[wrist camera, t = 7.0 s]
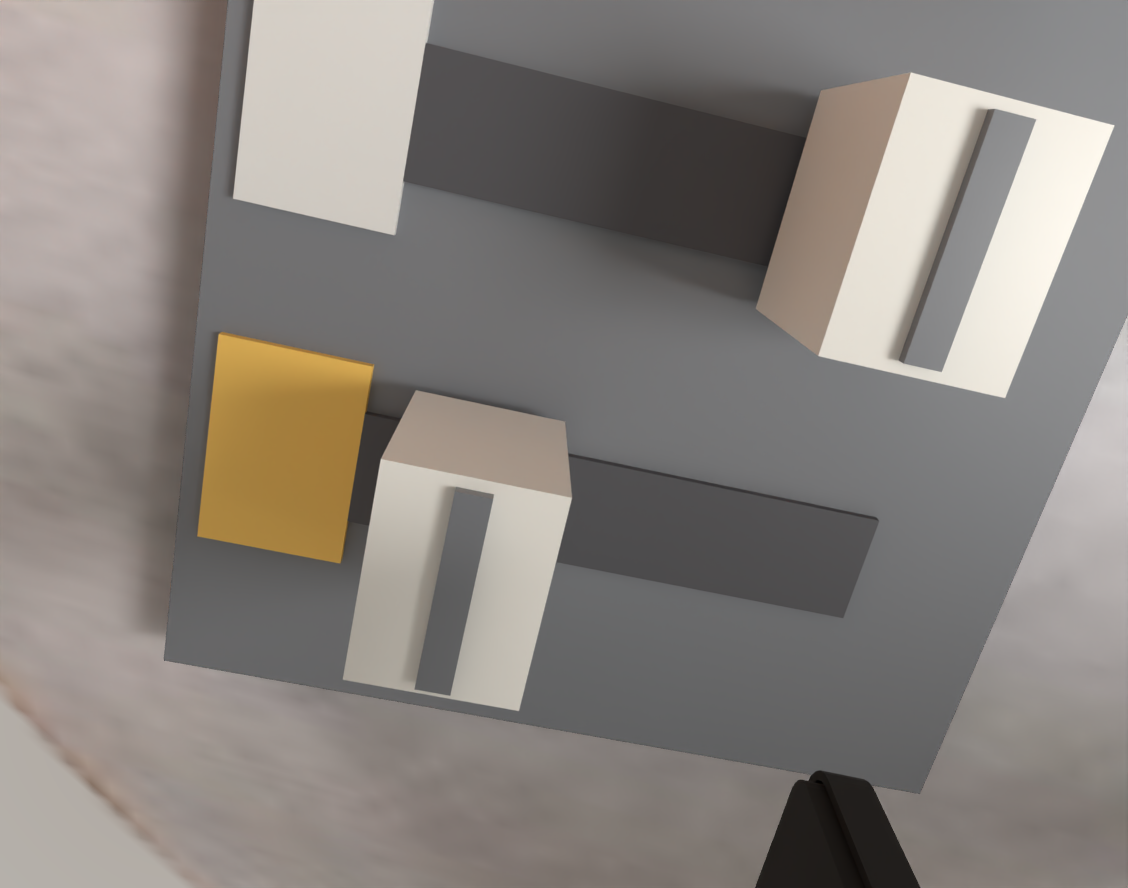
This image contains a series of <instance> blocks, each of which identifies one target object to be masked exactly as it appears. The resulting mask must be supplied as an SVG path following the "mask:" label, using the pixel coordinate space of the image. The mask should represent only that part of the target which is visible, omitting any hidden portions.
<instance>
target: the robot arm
mask: <svg viewBox="0 0 1128 888" xmlns="http://www.w3.org/2000/svg"><path fill="white" fill-rule="evenodd" d="M755 888H920V886H919V884H918V882H917V880H916V878H915V876H914V873H913V871H912V869H911V867H910V865H909V863H908V861H907V859H906V857H905V854H904V852H903V850H902V848H901V846H900V844H899V842H898V840H897V837H896V835H895V833H894V831H893V829H892V827H891V825H890V823H889V821H888V818H887V816H886V814H885V812H884V810H883V808H882V806H881V804H880V802H879V799H878V797H877V795H876V793H875V791H874V789H873V787H872V786H871V784H870V783H869V782H868V781H866V780H865V779H861V778H856V777H851V776H846V775H841V774H836V773H831V772H826V771H822V770H819V771H815V772H814V773H813V774H812V775H811V777H810V779H809V781H805V780H798V781H797V782H796V783H795V784H794V786H793V788H792V790H791V793H790V795H789V798H788V801H787V804H786V806H785V809H784V812H783V814H782V817H781V820H780V822H779V825H778V828H777V830H776V833H775V836H774V838H773V841H772V844H771V846H770V849H769V852H768V854H767V857H766V860H765V862H764V865H763V868H762V870H761V873H760V876H759V879H758V881H757V884H756V887H755Z"/></svg>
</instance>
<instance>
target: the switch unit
mask: <svg viewBox="0 0 1128 888" xmlns="http://www.w3.org/2000/svg"><path fill="white" fill-rule="evenodd" d="M906 73H915V74H919V75H923V76H927V77H930V78H934V79H938V80H942V81H946V82H950V83H953V84H957V85H961V86H965V87H969V88H973V89H976V90H980V91H984V92H988V93H992V94H996V95H999V96H1003V97H1007V98H1011V99H1015V100H1019V101H1023V102H1026V103H1030V104H1034V105H1038V106H1042V107H1046V108H1049V109H1053V110H1057V111H1061V112H1065V113H1069V114H1072V115H1076V116H1080V117H1084V118H1088V119H1092V120H1095V121H1099V122H1103V123H1107V124H1111V125H1115V126H1114V128H1113V131H1112V133H1111V136H1110V138H1109V141H1108V143H1107V146H1106V148H1105V151H1104V153H1103V155H1102V158H1101V160H1100V163H1099V165H1098V168H1097V170H1096V173H1095V175H1094V178H1093V180H1092V183H1091V185H1090V188H1089V190H1088V193H1087V195H1086V198H1085V200H1084V203H1083V205H1082V208H1081V210H1080V213H1079V215H1078V218H1077V220H1076V223H1075V225H1074V228H1073V230H1072V233H1071V235H1070V238H1069V240H1068V243H1067V245H1066V248H1065V250H1064V253H1063V255H1062V258H1061V260H1060V263H1059V265H1058V268H1057V270H1056V272H1055V275H1054V277H1053V280H1052V282H1051V285H1050V287H1049V290H1048V292H1047V295H1046V297H1045V300H1044V302H1043V305H1042V307H1041V310H1040V312H1039V315H1038V317H1037V320H1036V322H1035V325H1034V327H1033V330H1032V332H1031V335H1030V337H1029V340H1028V342H1027V345H1026V347H1025V350H1024V352H1023V355H1022V357H1021V360H1020V362H1019V365H1018V367H1017V370H1016V372H1015V375H1014V377H1013V380H1012V382H1011V385H1010V387H1009V389H1008V392H1007V394H1006V397H1005V398H1002V397H998V396H993V395H989V394H984V393H980V392H975V391H971V390H967V389H962V388H958V387H953V386H949V385H944V384H940V383H935V382H931V381H927V380H922V379H918V378H913V377H909V376H904V375H900V374H895V373H891V372H887V371H882V370H878V369H873V368H869V367H864V366H860V365H855V364H851V363H846V362H842V361H838V360H833V359H829V358H824V357H820V356H817V355H816V354H815V353H813V352H812V351H811V350H809V349H808V348H807V347H805V346H804V345H803V344H801V343H800V342H799V341H798V340H796V339H795V338H794V337H792V336H791V335H790V334H788V333H787V332H786V331H784V330H783V329H782V328H780V327H779V326H778V325H776V324H775V323H774V322H772V321H771V320H770V319H768V318H767V317H766V316H764V315H763V314H762V313H760V312H759V311H758V310H756V306H757V303H758V299H759V296H760V293H761V289H762V286H763V283H764V279H765V276H766V273H767V269H768V266H769V263H770V259H771V256H772V253H773V249H774V246H775V243H776V239H777V236H778V233H779V229H780V226H781V222H782V219H783V216H784V212H785V209H786V206H787V202H788V199H789V196H790V192H791V189H792V186H793V182H794V179H795V176H796V172H797V169H798V166H799V162H800V159H801V156H802V152H803V149H804V146H805V142H806V139H807V135H808V132H809V129H810V125H811V122H812V119H813V115H814V112H815V109H816V105H817V102H818V99H819V95H820V92H821V90H825V89H830V88H835V87H840V86H845V85H850V84H855V83H861V82H866V81H871V80H876V79H881V78H886V77H891V76H896V75H901V74H906ZM1127 315H1128V0H228V7H227V17H226V27H225V37H224V48H223V58H222V68H221V78H220V89H219V99H218V109H217V120H216V130H215V140H214V150H213V161H212V171H211V181H210V191H209V202H208V212H207V222H206V232H205V243H204V253H203V263H202V273H201V284H200V294H199V304H198V314H197V325H196V335H195V345H194V355H193V366H192V376H191V386H190V396H189V407H188V417H187V427H186V437H185V448H184V458H183V468H182V478H181V489H180V499H179V509H178V519H177V530H176V540H175V550H174V561H173V571H172V581H171V591H170V602H169V612H168V622H167V632H166V643H165V653H164V661H170V662H175V663H181V664H187V665H192V666H198V667H204V668H209V669H215V670H221V671H226V672H232V673H238V674H243V675H249V676H255V677H260V678H266V679H272V680H277V681H283V682H289V683H294V684H300V685H306V686H311V687H317V688H323V689H328V690H334V691H340V692H345V693H351V694H357V695H362V696H368V697H374V698H379V699H385V700H391V701H396V702H402V703H408V704H413V705H419V706H425V707H430V708H436V709H442V710H447V711H453V712H459V713H464V714H470V715H476V716H481V717H487V718H493V719H498V720H504V721H510V722H515V723H521V724H527V725H532V726H538V727H544V728H549V729H555V730H561V731H566V732H572V733H578V734H583V735H589V736H595V737H600V738H606V739H612V740H617V741H623V742H629V743H634V744H640V745H646V746H651V747H657V748H663V749H668V750H674V751H680V752H685V753H691V754H697V755H702V756H708V757H714V758H719V759H725V760H731V761H736V762H742V763H748V764H753V765H759V766H765V767H770V768H776V769H782V770H787V771H793V772H799V773H804V774H810V775H812V774H813V773H814V772H815V771H819V770H822V771H826V772H831V773H836V774H841V775H846V776H851V777H856V778H861V779H865V780H866V781H868V782H869V783H870V784H871V785H872V786H878V787H884V788H889V789H895V790H901V791H906V792H912V793H918V794H920V792H921V790H922V788H923V785H924V783H925V781H926V779H927V776H928V774H929V772H930V769H931V767H932V765H933V762H934V760H935V758H936V756H937V753H938V751H939V749H940V746H941V744H942V742H943V739H944V737H945V735H946V732H947V730H948V728H949V726H950V723H951V721H952V719H953V716H954V714H955V712H956V709H957V707H958V705H959V703H960V700H961V698H962V696H963V693H964V691H965V689H966V686H967V684H968V682H969V679H970V677H971V675H972V673H973V670H974V668H975V666H976V663H977V661H978V659H979V656H980V654H981V652H982V650H983V647H984V645H985V643H986V640H987V638H988V636H989V633H990V631H991V629H992V626H993V624H994V622H995V620H996V617H997V615H998V613H999V610H1000V608H1001V606H1002V603H1003V601H1004V599H1005V597H1006V594H1007V592H1008V590H1009V587H1010V585H1011V583H1012V580H1013V578H1014V576H1015V573H1016V571H1017V569H1018V567H1019V564H1020V562H1021V560H1022V557H1023V555H1024V553H1025V550H1026V548H1027V546H1028V544H1029V541H1030V539H1031V537H1032V534H1033V532H1034V530H1035V527H1036V525H1037V523H1038V520H1039V518H1040V516H1041V514H1042V511H1043V509H1044V507H1045V504H1046V502H1047V500H1048V497H1049V495H1050V493H1051V491H1052V488H1053V486H1054V484H1055V481H1056V479H1057V477H1058V474H1059V472H1060V470H1061V467H1062V465H1063V463H1064V461H1065V458H1066V456H1067V454H1068V451H1069V449H1070V447H1071V444H1072V442H1073V440H1074V438H1075V435H1076V433H1077V431H1078V428H1079V426H1080V424H1081V421H1082V419H1083V417H1084V415H1085V412H1086V410H1087V408H1088V405H1089V403H1090V401H1091V398H1092V396H1093V394H1094V391H1095V389H1096V387H1097V385H1098V382H1099V380H1100V378H1101V375H1102V373H1103V371H1104V368H1105V366H1106V364H1107V362H1108V359H1109V357H1110V355H1111V352H1112V350H1113V348H1114V345H1115V343H1116V341H1117V338H1118V336H1119V334H1120V332H1121V329H1122V327H1123V325H1124V322H1125V320H1126V318H1127ZM416 390H418V391H422V392H427V393H432V394H437V395H441V396H446V397H451V398H456V399H460V400H465V401H470V402H474V403H479V404H484V405H489V406H493V407H498V408H503V409H508V410H512V411H517V412H522V413H527V414H531V415H536V416H541V417H545V418H550V419H555V420H560V421H564V422H565V426H566V437H567V448H568V459H569V470H570V481H571V492H572V500H571V504H570V508H569V512H568V516H567V520H566V524H565V528H564V532H563V536H562V540H561V544H560V548H559V552H558V556H557V560H556V564H555V568H554V572H553V576H552V580H551V584H550V588H549V592H548V596H547V600H546V604H545V608H544V612H543V616H542V620H541V624H540V628H539V632H538V636H537V640H536V644H535V648H534V652H533V656H532V660H531V664H530V668H529V673H528V677H527V681H526V685H525V689H524V693H523V697H522V701H521V705H520V709H519V711H516V710H510V709H505V708H499V707H493V706H488V705H482V704H476V703H471V702H465V701H460V700H454V699H448V698H443V697H437V696H431V695H426V694H420V693H415V692H409V691H403V690H398V689H392V688H386V687H381V686H375V685H370V684H364V683H358V682H353V681H347V680H343V675H344V669H345V663H346V657H347V652H348V646H349V640H350V634H351V629H352V623H353V617H354V611H355V605H356V600H357V594H358V588H359V582H360V576H361V571H362V565H363V559H364V553H365V548H366V542H367V536H368V530H369V524H370V519H371V513H372V507H373V501H374V495H375V490H376V484H377V478H378V472H379V467H380V461H381V458H382V456H383V454H384V452H385V450H386V448H387V446H388V444H389V442H390V440H391V438H392V436H393V434H394V432H395V430H396V428H397V426H398V424H399V422H400V420H401V418H402V416H403V414H404V412H405V411H406V409H407V407H408V405H409V403H410V401H411V399H412V397H413V395H414V393H415V391H416Z"/></svg>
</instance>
